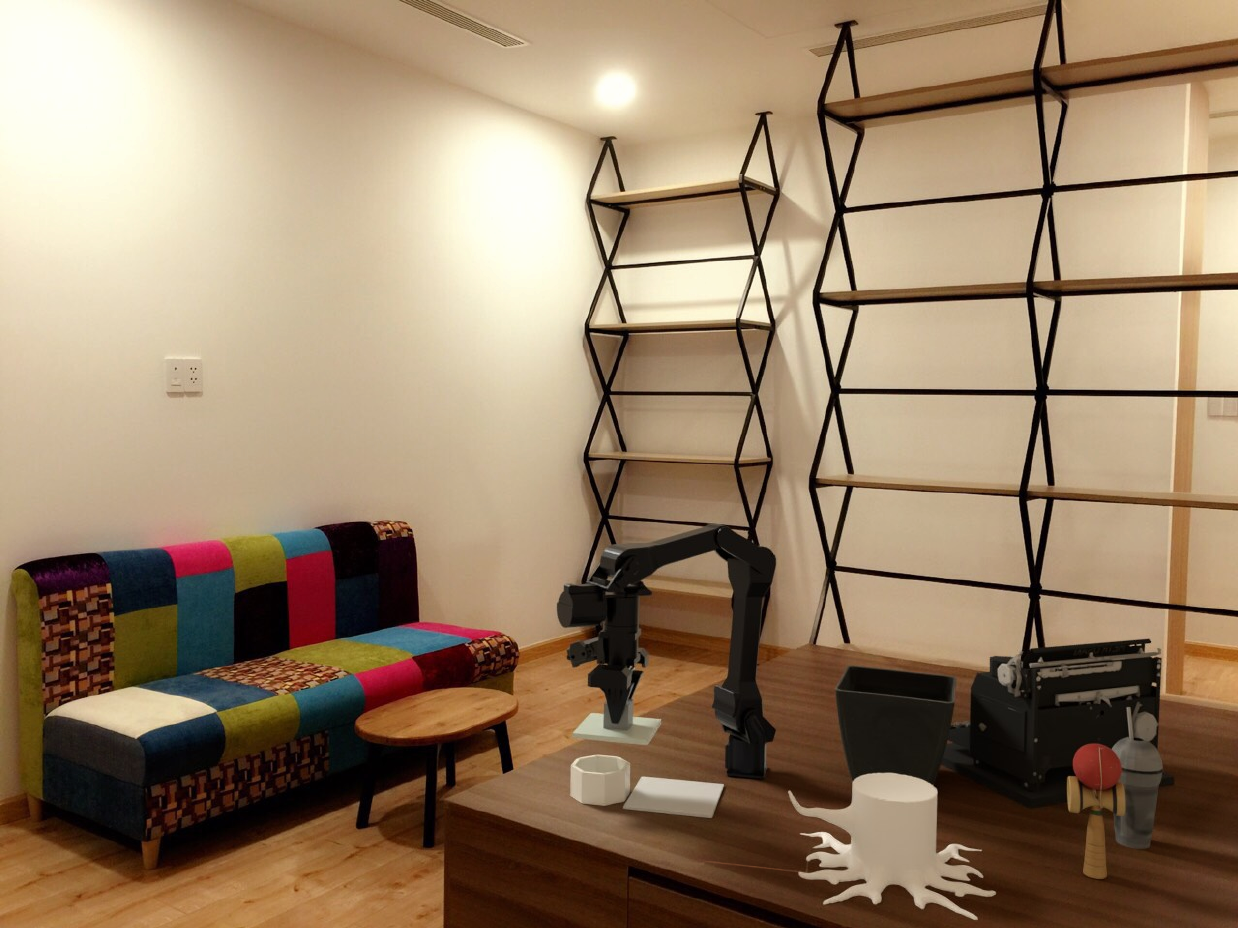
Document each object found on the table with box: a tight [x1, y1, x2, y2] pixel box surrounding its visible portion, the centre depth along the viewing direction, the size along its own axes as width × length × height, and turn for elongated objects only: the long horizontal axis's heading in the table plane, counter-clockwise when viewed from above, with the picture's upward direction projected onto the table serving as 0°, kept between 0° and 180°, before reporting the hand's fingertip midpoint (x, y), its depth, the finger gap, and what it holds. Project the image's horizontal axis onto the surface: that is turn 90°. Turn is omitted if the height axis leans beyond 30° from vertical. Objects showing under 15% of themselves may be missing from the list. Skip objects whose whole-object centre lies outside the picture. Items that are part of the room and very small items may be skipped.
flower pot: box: [835, 665, 957, 787], centre depth 175 cm, size 19×19×17 cm
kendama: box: [1067, 744, 1125, 880], centre depth 137 cm, size 8×6×18 cm
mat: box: [622, 776, 725, 819], centre depth 165 cm, size 14×14×1 cm
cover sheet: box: [572, 698, 662, 746], centre depth 164 cm, size 12×12×5 cm
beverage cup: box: [1112, 707, 1165, 850], centre depth 148 cm, size 7×7×20 cm
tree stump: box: [787, 773, 997, 921], centre depth 141 cm, size 28×28×11 cm
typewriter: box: [941, 638, 1175, 810], centre depth 179 cm, size 31×27×25 cm
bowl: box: [569, 754, 631, 807], centre depth 165 cm, size 9×9×5 cm
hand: (618, 719), depth 164 cm, fingers closed on cover sheet, 4 cm apart
